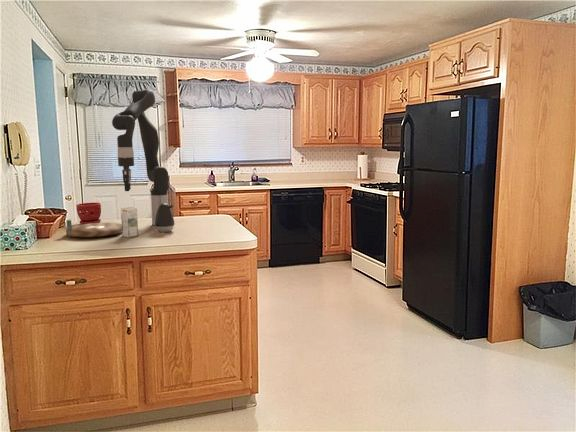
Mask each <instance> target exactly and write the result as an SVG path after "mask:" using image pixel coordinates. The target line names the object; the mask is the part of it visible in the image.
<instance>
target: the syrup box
mask: <svg viewBox="0 0 576 432" xmlns="http://www.w3.org/2000/svg"><path fill="white" fill-rule="evenodd" d="M120 216H121V224H122V232H121V234H122V235H121V236H122V237H124V238H134V237H138V236H139V225H138V209H137V208H136V207H133V206H132V207H131V206H130V207H123V208H120Z"/></svg>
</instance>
